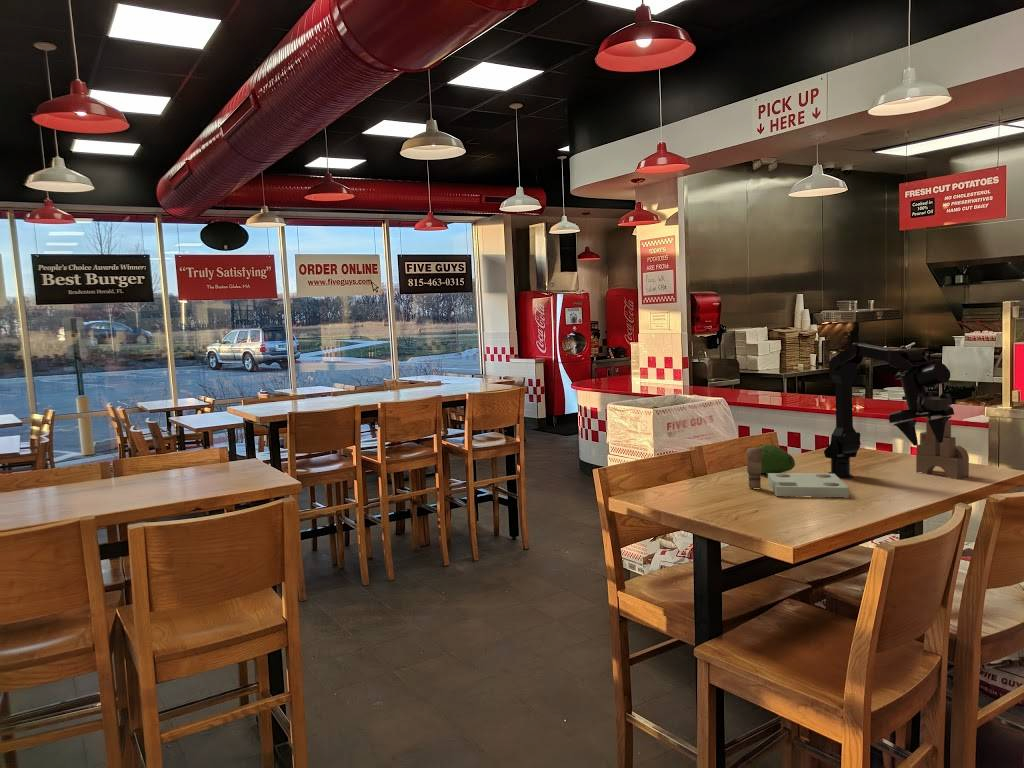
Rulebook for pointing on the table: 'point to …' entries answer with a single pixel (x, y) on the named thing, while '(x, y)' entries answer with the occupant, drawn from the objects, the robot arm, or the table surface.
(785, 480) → the seat board
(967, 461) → the wooden toy
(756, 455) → the stool leg
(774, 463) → the fruit
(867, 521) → the table surface
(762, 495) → the table surface
